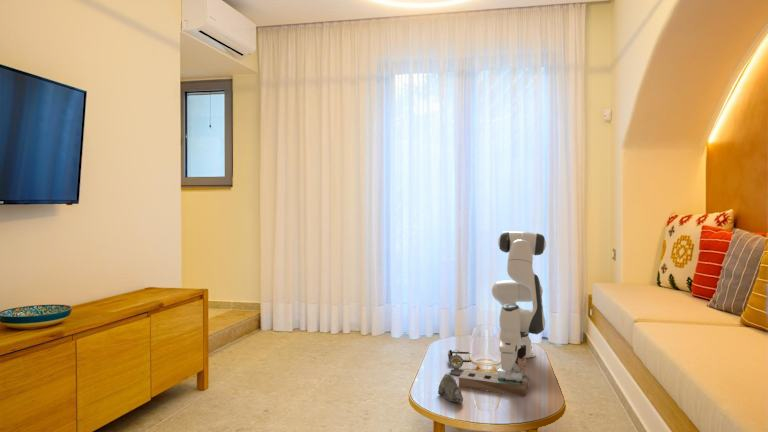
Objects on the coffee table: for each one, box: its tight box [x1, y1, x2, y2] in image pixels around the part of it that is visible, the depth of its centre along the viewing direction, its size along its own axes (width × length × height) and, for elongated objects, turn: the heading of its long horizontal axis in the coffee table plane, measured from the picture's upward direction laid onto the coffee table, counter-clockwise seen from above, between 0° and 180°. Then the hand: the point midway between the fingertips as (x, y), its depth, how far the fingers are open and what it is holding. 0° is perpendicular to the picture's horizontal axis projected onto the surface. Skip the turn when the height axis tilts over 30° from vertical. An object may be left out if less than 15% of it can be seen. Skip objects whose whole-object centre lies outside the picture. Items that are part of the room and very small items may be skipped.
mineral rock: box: [437, 373, 464, 404], centre depth 201 cm, size 13×11×10 cm
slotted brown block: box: [458, 369, 529, 397], centre depth 214 cm, size 10×28×4 cm, turn 67°
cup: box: [514, 342, 527, 378], centre depth 229 cm, size 7×7×15 cm
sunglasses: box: [447, 349, 472, 363], centre depth 247 cm, size 14×15×5 cm
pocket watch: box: [448, 349, 465, 376], centre depth 233 cm, size 8×8×10 cm
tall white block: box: [497, 368, 523, 384], centre depth 212 cm, size 3×10×8 cm, turn 67°
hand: (509, 374), depth 212 cm, fingers open, 8 cm apart
